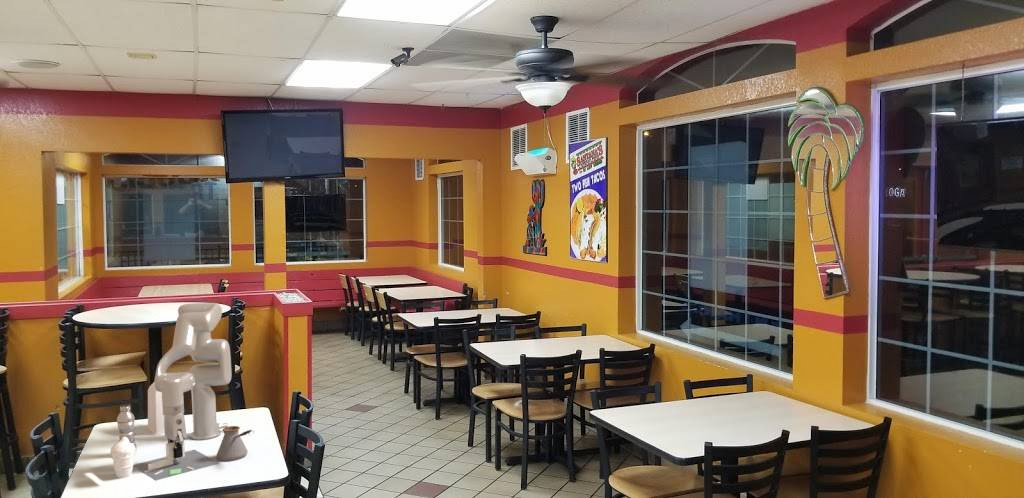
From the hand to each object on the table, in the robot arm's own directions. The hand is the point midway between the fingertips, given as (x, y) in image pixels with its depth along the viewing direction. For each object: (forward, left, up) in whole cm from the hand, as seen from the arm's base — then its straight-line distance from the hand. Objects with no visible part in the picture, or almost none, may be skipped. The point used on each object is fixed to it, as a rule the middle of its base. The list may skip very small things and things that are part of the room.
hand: (175, 455), depth 289 cm
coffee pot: (-19, +13, -5) cm, 24 cm away
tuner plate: (0, 0, -5) cm, 5 cm away
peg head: (+3, 0, -3) cm, 5 cm away
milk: (-17, -56, -5) cm, 59 cm away
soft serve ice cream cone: (+18, -2, -5) cm, 19 cm away
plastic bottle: (+7, -32, -5) cm, 33 cm away
